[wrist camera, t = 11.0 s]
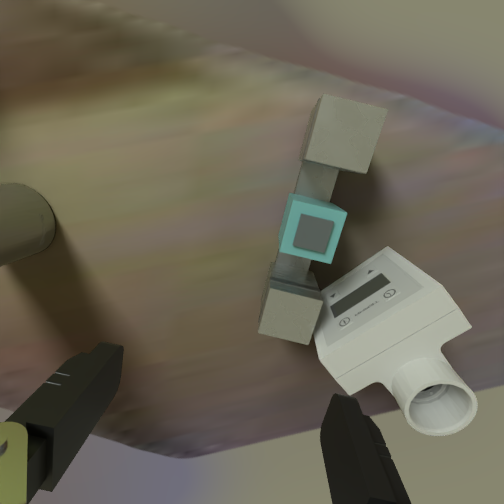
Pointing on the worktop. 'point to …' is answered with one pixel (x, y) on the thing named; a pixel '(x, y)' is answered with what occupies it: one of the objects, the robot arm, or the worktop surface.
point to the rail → (318, 187)
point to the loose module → (311, 228)
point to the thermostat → (396, 340)
